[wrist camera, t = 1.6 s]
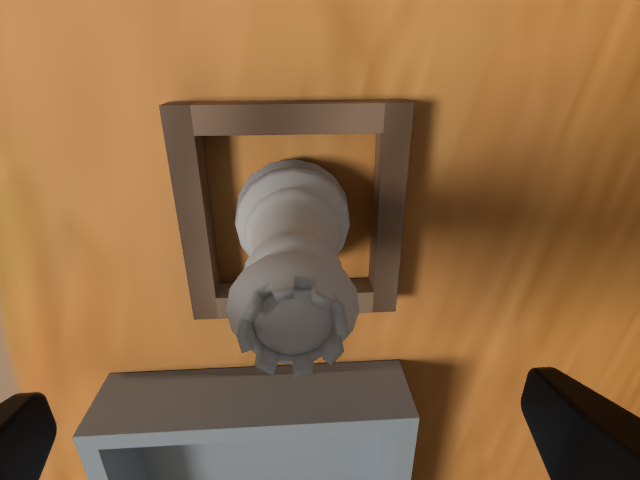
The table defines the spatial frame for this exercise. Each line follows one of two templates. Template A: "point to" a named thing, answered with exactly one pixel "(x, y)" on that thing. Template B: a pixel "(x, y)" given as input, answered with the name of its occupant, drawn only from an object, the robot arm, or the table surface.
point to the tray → (252, 424)
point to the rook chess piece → (292, 268)
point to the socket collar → (287, 119)
